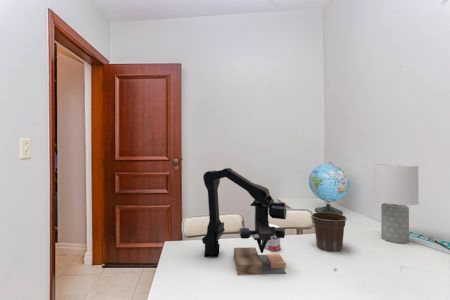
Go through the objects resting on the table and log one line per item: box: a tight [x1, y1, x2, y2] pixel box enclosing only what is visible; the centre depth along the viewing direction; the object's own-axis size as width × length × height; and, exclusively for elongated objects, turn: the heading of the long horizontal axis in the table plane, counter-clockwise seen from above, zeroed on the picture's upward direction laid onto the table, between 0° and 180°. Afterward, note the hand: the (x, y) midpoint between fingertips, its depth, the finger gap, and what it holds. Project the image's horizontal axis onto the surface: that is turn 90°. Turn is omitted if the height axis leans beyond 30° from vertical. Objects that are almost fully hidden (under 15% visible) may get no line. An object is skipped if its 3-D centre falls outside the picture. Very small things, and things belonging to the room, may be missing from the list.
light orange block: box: [265, 253, 286, 269], centre depth 105 cm, size 6×9×2 cm, turn 2°
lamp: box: [372, 163, 419, 245], centre depth 135 cm, size 21×21×42 cm
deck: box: [233, 246, 264, 276], centre depth 105 cm, size 10×17×4 cm, turn 3°
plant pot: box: [311, 211, 347, 253], centre depth 124 cm, size 16×16×16 cm
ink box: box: [264, 223, 281, 253], centre depth 122 cm, size 8×5×12 cm, turn 39°
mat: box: [258, 254, 287, 275], centre depth 105 cm, size 10×17×1 cm, turn 3°
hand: (261, 252), depth 105 cm, fingers closed
